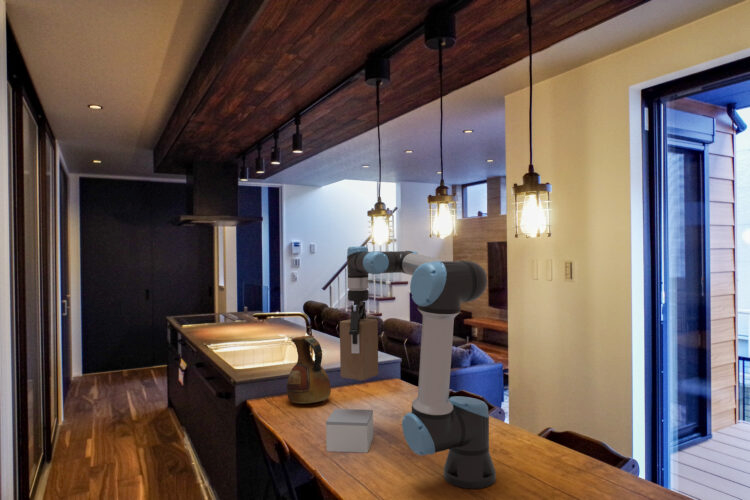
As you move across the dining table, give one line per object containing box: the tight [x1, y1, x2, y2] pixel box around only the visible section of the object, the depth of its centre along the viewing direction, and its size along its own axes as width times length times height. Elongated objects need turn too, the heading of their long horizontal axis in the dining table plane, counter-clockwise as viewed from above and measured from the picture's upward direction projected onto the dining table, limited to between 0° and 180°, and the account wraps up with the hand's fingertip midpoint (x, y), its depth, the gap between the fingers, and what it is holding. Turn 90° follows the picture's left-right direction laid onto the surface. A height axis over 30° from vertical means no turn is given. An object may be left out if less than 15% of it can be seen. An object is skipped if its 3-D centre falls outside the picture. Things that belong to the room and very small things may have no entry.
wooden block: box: [339, 318, 379, 381], centre depth 181 cm, size 10×10×20 cm
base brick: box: [325, 408, 374, 454], centre depth 177 cm, size 14×14×10 cm
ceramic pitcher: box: [286, 335, 332, 404], centre depth 228 cm, size 20×20×30 cm
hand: (359, 349), depth 181 cm, fingers closed on wooden block, 12 cm apart
